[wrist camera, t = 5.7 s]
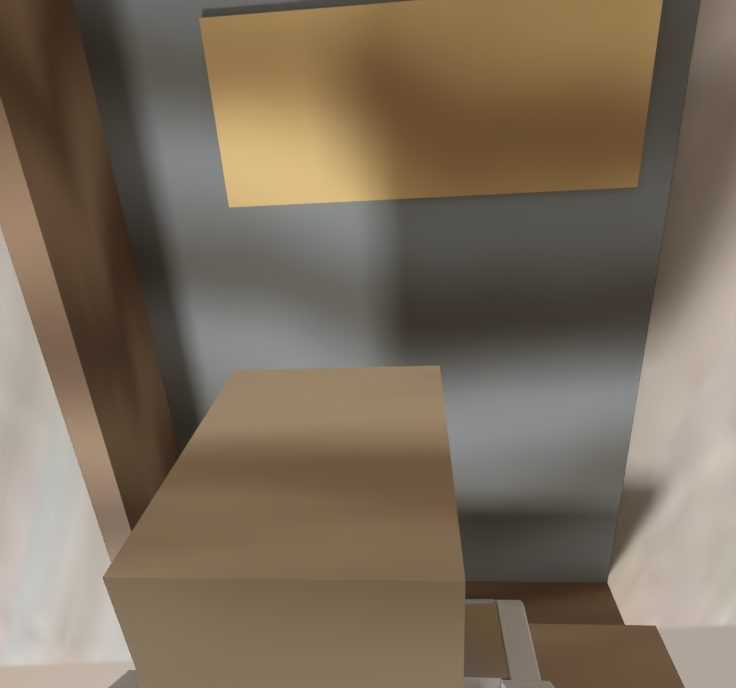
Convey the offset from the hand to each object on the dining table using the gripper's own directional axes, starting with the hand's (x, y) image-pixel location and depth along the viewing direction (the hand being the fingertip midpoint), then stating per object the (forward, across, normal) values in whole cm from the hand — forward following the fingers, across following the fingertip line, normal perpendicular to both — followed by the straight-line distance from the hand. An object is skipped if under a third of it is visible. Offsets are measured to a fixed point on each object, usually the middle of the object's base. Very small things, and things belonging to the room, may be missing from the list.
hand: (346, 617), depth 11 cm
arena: (+9, 0, -4) cm, 10 cm away
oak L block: (+2, -3, 0) cm, 3 cm away
